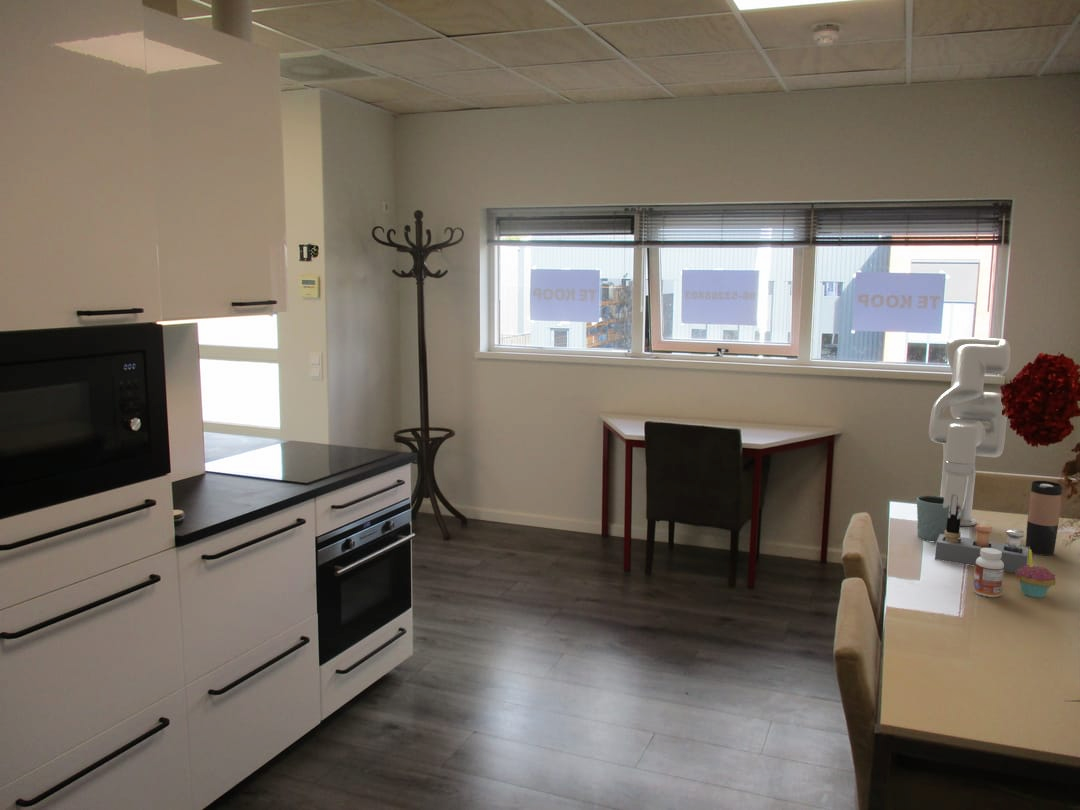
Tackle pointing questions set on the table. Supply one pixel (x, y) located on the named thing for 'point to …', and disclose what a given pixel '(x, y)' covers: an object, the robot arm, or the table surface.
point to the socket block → (978, 553)
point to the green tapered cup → (931, 517)
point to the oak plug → (952, 536)
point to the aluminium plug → (1014, 540)
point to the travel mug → (1043, 517)
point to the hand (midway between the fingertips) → (952, 531)
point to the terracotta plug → (983, 535)
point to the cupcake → (1034, 579)
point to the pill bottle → (988, 573)
